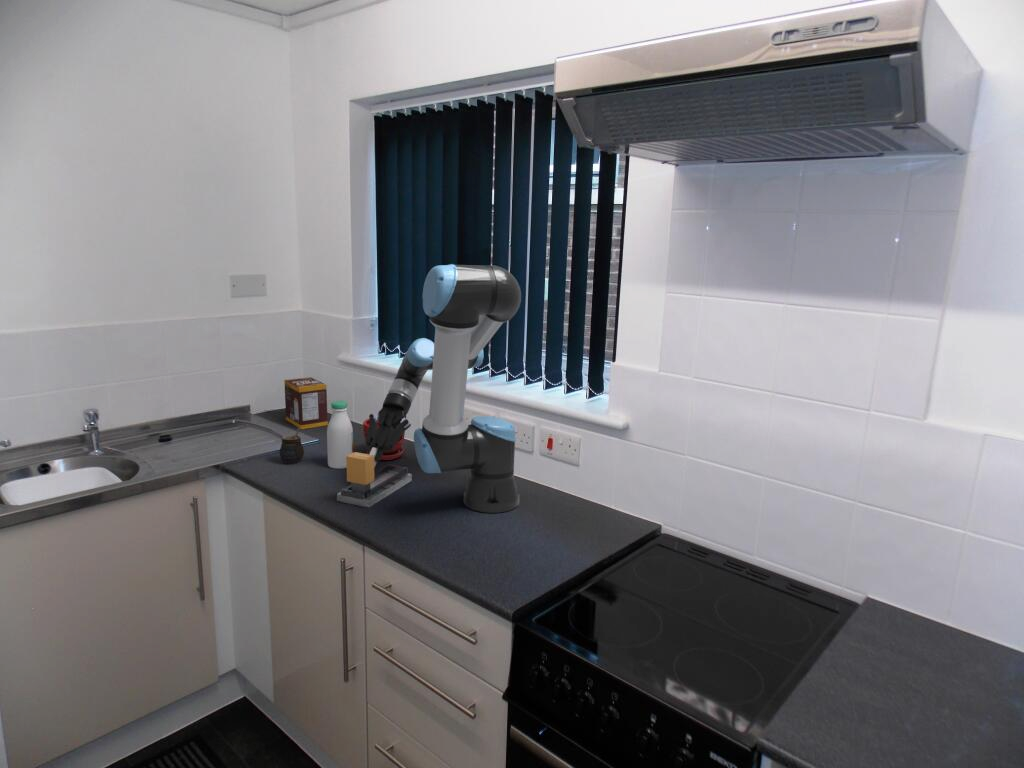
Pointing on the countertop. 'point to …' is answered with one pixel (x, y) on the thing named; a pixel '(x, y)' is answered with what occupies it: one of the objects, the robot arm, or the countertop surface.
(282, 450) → the mate gourd
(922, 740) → the countertop surface
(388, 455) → the plant pot
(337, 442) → the milk bottle
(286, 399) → the supplement box
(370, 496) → the fader strip
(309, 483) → the countertop surface
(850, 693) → the countertop surface
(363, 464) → the fader knob
